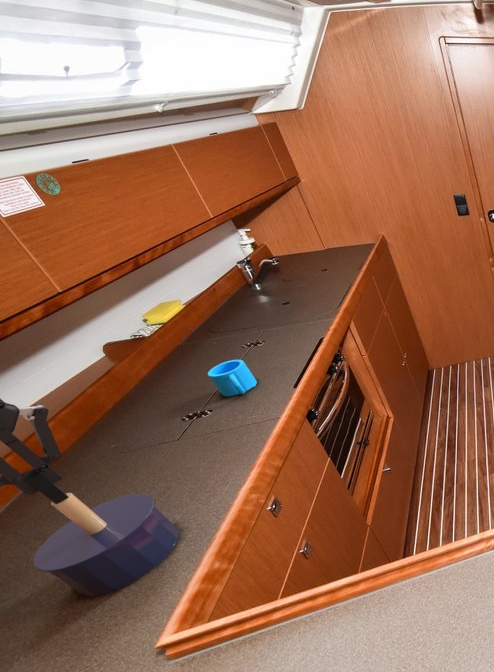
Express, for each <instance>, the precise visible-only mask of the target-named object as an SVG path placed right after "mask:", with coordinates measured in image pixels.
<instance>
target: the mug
mask: <svg viewBox="0 0 494 672" xmlns="http://www.w3.org/2000/svg"><path fill="white" fill-rule="evenodd" d="M207 376H208V377H209V378H210V380H211V381H212V383H213V384H214V385H215V387H216V388H217V389H218V391H219V392H220V393H221V395H222V396H224V397H233V396H236V395H237V396H238V395H244V394H245V393H246V392H247V391H249V390H250V389H252V388H255V387H256V385H257V383H258V381H257V380H256V378H255V376H254V375H253V374H252V372H251V370H250V369H249V367H248V366H247V364H246V363H245V361H244V360H243V359H232V360H228V361H224V362H221V363H220V364H217V365H215V366H214V367H212V368H211V369H210V370H209V371H208V372H207Z"/></svg>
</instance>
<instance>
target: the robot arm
mask: <svg viewBox="0 0 494 672" xmlns="http://www.w3.org/2000/svg"><path fill="white" fill-rule="evenodd" d="M49 411H50V410H49V409H48V407H46V406H45V405H44V404H42V403H35V404H33V405H32V406H19V407H18V406H17V405H15V404H12V403H7V402H6V401H4V400H3V399H2V398H0V442H2V443H3V444H4V445H5V446H7V447H8V448H9V449H10V450H12V451H13V452H14V453H15V454H16V455H17V456H18V457H20V458H21V459H22V460H24V461H25V462H26V463H27V464H28V465H29V466H31V467H32V468H30V469H29V470H27V471H25V472H22V473H20V471H18V469H16V467H14V466H12V465H11V464H10V463H9V462H7V460H5V458H3V457H2V456H0V488H2V487H3V486H8V485H13V486H14V487H16V488H18V490H20V491H21V492H23V493H24V494H25V495H28V496H32V495H35V494H37V493H38V492H40V493H41V494H43V495H44V496H45V497H46V498H47V499H48V500H49V501H51V502H54V503H55V504H58V503H59V502H61V501H63V500H65V499H67V498H69V497H68V496H67V495H66V492H64V490H63V489H61V488H60V487H59V486H58V485H57V484H55V483H57V482H59V481H61V480H62V479H63V478H62V476H61V474H60V473H59V472H57V471H56V469H54V468H53V467H52V466H51V465H52V463H54V462H56V461H58V460H60V459H61V458H62V453H61V450H60V448H59V446H58V444H57V442H56V439H55V437H54V435H53V433H52V430H51V428H50V426H49V423H48V421H47V420H48V415H49ZM20 416H21V417H22V418H23V419H24V420H26V421H29V422H30V425H31V427H32V429H33V431H34V433H35V436H36V437H37V440H38V442H39V444H40V446H41V448H42V451H43V453H44V454H43V455H42V456H39V455H38V454H37V453H35V451H34V450H32V449H31V448H30V447H29V446H28V445H26V444H25V443H24V442H23V441H22V440H21V439H20V438H18V437H17V436H16V435H15V434H14V433H13V432H14V431H15V430H16V426H17V422H18V419H19V417H20Z"/></svg>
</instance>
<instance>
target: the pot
mask: <svg viewBox="0 0 494 672" xmlns="http://www.w3.org/2000/svg"><path fill="white" fill-rule="evenodd" d="M179 538H180V531H179V528H178V527H176V525H174V524H173V523H172V522H171V521H170V520H169V519H168V518H167V517H166V516H165V515H164V514H163V513H162V512H161V511H160V510H159V509H158V508H157V506H155V509H154V511H153V513H152V515H151V516H150V518H149V519H148V520H147V521H146V523H145V524H144V525H143V526H142V527H141V528H140V529H139V530H137V531H136V532H135V533H134V534H133V535H132V536H130V537H129V538H128V539H126V540H125V541H124V542H122V543H121V544H119V545H118V546H116V547H115V548H113V549H111V550H110V551H108V552H106V553H105V554H103V555H101V556H99V557H97V558H95V559H93V560H91V561H89V562H86V563H84V564H82V565H79V566H76V567H73V568H70V569H67V570H62V571H57V572H50V574H52V575H53V576H55V577H56V578H58V579H59V580H60V581H62V582H63V583H65V584H66V585H68V586H69V587H70V588H72V589H74V590H75V591H76V592H78V593H79V594H80V595H83V596H88V597H96V596H101V595H105V594H109V593H113V592H115V591H118V590H120V589H122V588H124V587H126V586H129V584H132V583H134V582H135V581H137V580H139V579H140V578H142V577H143V576H145V575H146V574H148V573H150V571H152V570H153V569H155V568H156V566H158V565H160V563H162V561H164V559H165V558H167V556H169V554H170V553H171V552H172V551H173V550H174V548H175V547H176V545H177V543H178V541H179Z"/></svg>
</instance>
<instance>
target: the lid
mask: <svg viewBox="0 0 494 672" xmlns="http://www.w3.org/2000/svg"><path fill="white" fill-rule="evenodd" d="M65 494H66V495H67V496H68V497H69V498H67V499H65V500H63V501H61V502H59V503H58V504H55V503H54V502H52V501H51V502H50V505H51V506H52V507H53V508H55V509H56V510H57V511H58V512H60V514H62V515H63V516H64V517H66V519H68V520H69V521H68V522H67V523H65V524H64V525H62V527H60V528H59V529H57V530H56V531H55V532H54V533H52V534H51V535H50V536H49V537H48V538H47V539H46V540H45V541H44V542H43V543H42V545H41V546H40V547H39V548H38V550H37V551H36V553H35V555H34V558H33V566H34V567H35V568H36V569H37V570H39V571H40V572H45V573H51V572H57V571H62V570H67V569H70V568H73V567H76V566H79V565H82V564H84V563H86V562H89V561H91V560H93V559H95V558H97V557H99V556H101V555H103V554H105V553H106V552H108V551H110V550H111V549H113V548H115V547H116V546H118V545H119V544H121V543H122V542H124V541H125V540H126V539H128V538H129V537H130V536H132V535H133V534H134V533H135V532H136V531H137V530H139V529H140V528H141V527H142V526H143V525H144V524H145V523H146V521H147V520H148V519H149V518H150V516H151V515H152V513H153V511H154V509H155V507H156V500H155V499H154V497H152V495H150V494H147V493H132V494H127V495H123V496H119V497H116V498H113V499H110V500H107V501H105V502H103V503H101V504H98V505H96V506H94V507H92V508H90V507H89V506H87V505H86V504H85V503H84V502H83V501H81V499H79V498H78V497H77V496H76V495H75V494H74V493H72V492H67V493H66V492H65Z"/></svg>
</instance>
